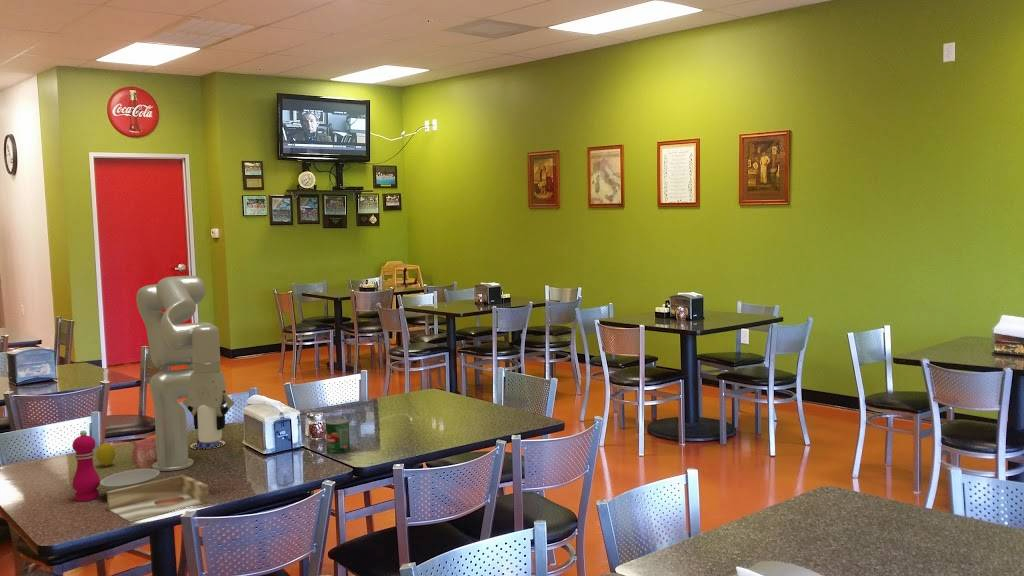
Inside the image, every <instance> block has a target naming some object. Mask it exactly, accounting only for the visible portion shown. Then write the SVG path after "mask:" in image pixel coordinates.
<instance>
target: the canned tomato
mask: <svg viewBox="0 0 1024 576" xmlns="http://www.w3.org/2000/svg"><path fill="white" fill-rule="evenodd" d="M349 421H350V420H349V419H348V418H331V419H328V420H327V419H326V421H325V439H326V440H325V441H326V443H325V444H326V454H327V455H329V456H334V455H337V456H343V455H342V454H345V455H348V454H350V453H351V447H350V446H351V445H350V444H351V443H350V422H349ZM349 452H350V453H349ZM347 453H348V454H347Z"/></svg>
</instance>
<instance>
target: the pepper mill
mask: <svg viewBox="0 0 1024 576" xmlns="http://www.w3.org/2000/svg"><path fill="white" fill-rule="evenodd" d="M87 434H88V432H87V431H86V430H81V431H80V433H79V436H78V437H76V438H74V440H73V441H72V449H73V451H74V452H75V454H74V456H75V457H74V459H75V460H76V464H77V465H76V470H75V474H74V476H73V479H72V485H71V486H72V489H73V490H74V491H75V493H74V500H75V501H77V502H88V501H93V500H96V499H98V498H99V496H100V490H99V489H98V488H99V486H101V485H100V481H101V479H100V475H99V473H98V472H97V470H96V468H95V465H94V461H93V460H94V457H95V454H94V453H95V451H94V449H95V448H96V439H95V438H94V437H93V436H91V435H87Z"/></svg>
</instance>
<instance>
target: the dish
mask: <svg viewBox="0 0 1024 576" xmlns="http://www.w3.org/2000/svg"><path fill="white" fill-rule="evenodd" d="M160 473H161V471H159V470H156V469H153V468H138V469H137V468H136V469H130V470H125V471H120V472H117V473H113V474H111V475H108V476H106V477H104V478H102V479H100V485H99V486H103V487H105V488H106V490H108V491H112V490H117V489H121V488H126V487H130V486H135V485H139V484H144V483H148V482H152V481H155V480H156V478H157V477H158V476H159V475H160Z"/></svg>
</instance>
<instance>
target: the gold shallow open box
mask: <svg viewBox="0 0 1024 576" xmlns="http://www.w3.org/2000/svg"><path fill="white" fill-rule="evenodd" d="M209 493H210V492H209V485H208V484H206V483H203V482H201V481H200V480H197V479H195V478H193V477H190V476H188V475H186V474H180V475H175V476H170V477H167V478H162V479H158V480H154V481H152V482H148V483H144V484H139V485H135V486H130V487H126V488H121V489H117V490H112V491H110V490H108V491H106V501H107V510H108V511H110V512H112V513H113V514H115V515H117V516H119V517H120V518H121V519H123V520H125V521H127V522H129V523H134V522H138V521H143V520H145V519H150V518H154V517H157V516H158V517H159V516H161V515H166V514H169V512H170V513H173V512H172V511H174V512H176V511H175V510H178V509H182V508H186V507H190V506H194V507H196V506H195V505H197V506H201V505H205V504H209V503H210V499H209V497H210V496H209ZM208 502H209V503H208ZM204 503H205V504H204ZM200 504H201V505H200ZM190 508H191V507H190ZM186 509H187V508H186ZM182 510H183V509H182ZM178 511H179V510H178ZM165 513H166V514H165Z"/></svg>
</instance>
